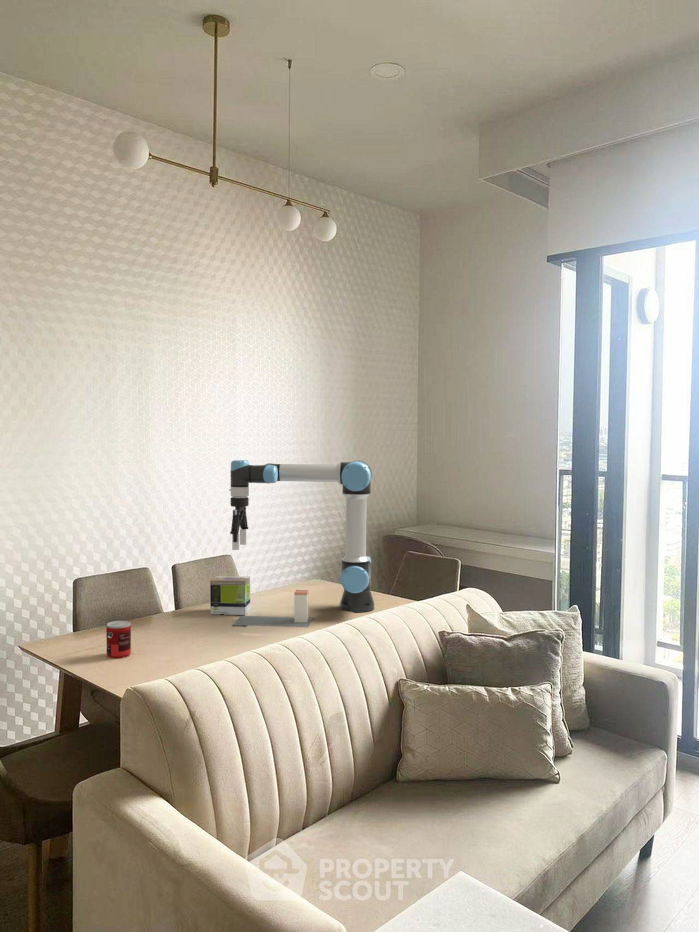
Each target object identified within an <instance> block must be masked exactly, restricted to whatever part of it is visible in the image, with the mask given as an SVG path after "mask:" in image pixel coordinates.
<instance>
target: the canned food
mask: <svg viewBox="0 0 699 932" xmlns="http://www.w3.org/2000/svg"><path fill="white" fill-rule="evenodd" d="M105 630H106V631H105V632H106V637H105V638H106V639H105V640H106V656H107V658H109V657H110V659H123V657H125V658H128V657H129V656H130V655H131V653H132V650H131V649H132V643H131V642H132V638H131V637H132V633H131V632H132V626H131V622H130V621H127V620H115V621H109V622H107V623H106V629H105ZM127 656H128V657H127Z"/></svg>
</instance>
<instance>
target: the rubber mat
mask: <svg viewBox="0 0 699 932" xmlns="http://www.w3.org/2000/svg"><path fill="white" fill-rule="evenodd" d="M313 619H314V618H313V617H308V621H307V623H304V622H294V617H292V616H261V615H239V616H238V618H237V620H235V621H234V623H233V624H232V627H246V626H247V627H249V626H253V627H255V626H256V627H283V628H285V627H290V628H292V627H293V628H309V626H310V625H311V623H312V621H313Z"/></svg>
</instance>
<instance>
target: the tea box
mask: <svg viewBox="0 0 699 932" xmlns="http://www.w3.org/2000/svg"><path fill="white" fill-rule="evenodd" d="M209 582H210V583H209V584H210V585H209V587H210V588H209V591H210V592H209V593H210V594H209V596H210V597H209V599H210V601H209V602H210V603H209V604H210V615H220V614H224V615H226V616H227V615H228V616H229V615H230V616H247V614H248V613H249V612H250V611H249V610H251V577H250V576H239V575H238V576H236V575H235V576H225V575H216V576H215V577H214V578H211V580H209ZM248 611H249V612H248ZM247 612H248V613H247ZM246 613H247V614H246Z"/></svg>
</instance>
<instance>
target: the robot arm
mask: <svg viewBox="0 0 699 932" xmlns="http://www.w3.org/2000/svg"><path fill="white" fill-rule="evenodd" d="M372 476H373V473H372V469H371V467H370V466H369V464H367V463H366V462H365V461H363V460H353V461H347V462H343V461H340V462H339V463H337V464H325V463H324V464H314V463H313V464H311V463H309V464H307V463H299V464H298V463H266V464H260V465H256V464H255V465H253V464H250V462H249V460H243V459H236V460H235V459H233V460H232V461H231V462H230V488H229V492H230V496H231V497H230V506H231V507H233V508H235V509H233V510H232V519H231V527H230V528H231V529H230V533H229V534H230V535H232V539H231V540H232V541H231V545H232V546H231V549H232V551H239V550H240V546H241V545H242V546H243V545H244V546H247V530H249V526H248V519H247V518H248V517H247V507H248V506H250V505H249V504H250V503H249V500H250V498H249V496H250V494H249V493H250V490H249V489H250V486H249V484H250V483H251V484H268V485H269V484H276V483H278V482H308V483H309V482H311V483H312V482H315V483H338V484H339V485H342V495H343V496H344V497H345V551H344V552H345V553H344V554H345V555H344V556H343V557H341V574H340V578H339V579H340V580H339V581H340V584H341V586H342V588H343V593H342V594H341V599H340V602H339V609H340V610H341V611H347V612H353V613H366V612H371V611H373V610H375V601H374V600H375V599H374V597H373V594H372V591H371V590H372V589H371V586H372V583H371V579H372V577H371V576H372V558H371V557H370V556H367V513H368V512H367V507H368V505H367V503H368V502H367V501H368V498H369V496H371V486H372V485H371V481H372V480H371V479H372Z"/></svg>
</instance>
